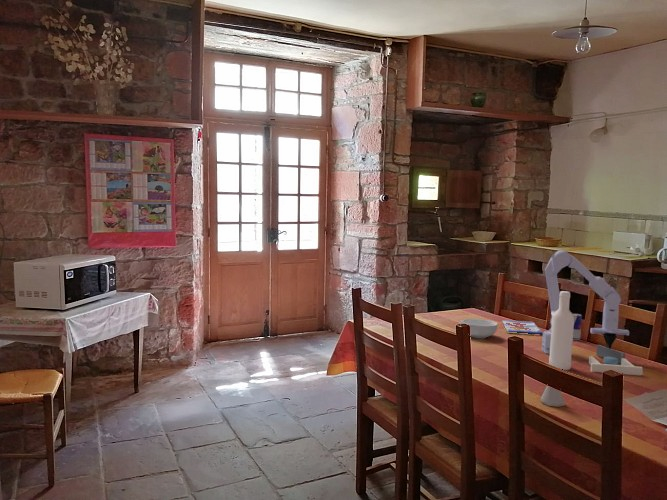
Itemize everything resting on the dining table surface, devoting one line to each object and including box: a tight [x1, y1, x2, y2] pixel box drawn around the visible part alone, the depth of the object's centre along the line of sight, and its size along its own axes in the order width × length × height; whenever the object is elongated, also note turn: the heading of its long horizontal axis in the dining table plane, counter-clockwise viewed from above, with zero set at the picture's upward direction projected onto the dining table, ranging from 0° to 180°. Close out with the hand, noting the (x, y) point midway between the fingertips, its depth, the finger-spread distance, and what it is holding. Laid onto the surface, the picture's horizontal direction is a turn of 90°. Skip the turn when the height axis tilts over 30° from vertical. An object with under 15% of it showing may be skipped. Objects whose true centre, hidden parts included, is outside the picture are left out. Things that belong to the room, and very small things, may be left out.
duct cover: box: [596, 344, 626, 365], centre depth 219 cm, size 14×1×4 cm, turn 19°
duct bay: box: [588, 355, 644, 376], centre depth 208 cm, size 18×12×3 cm, turn 80°
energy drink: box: [572, 313, 583, 341], centre depth 252 cm, size 5×5×12 cm
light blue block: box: [603, 357, 619, 365], centre depth 209 cm, size 5×5×4 cm
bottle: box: [548, 290, 574, 371], centre depth 207 cm, size 8×8×30 cm
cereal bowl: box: [460, 318, 499, 339], centre depth 253 cm, size 17×17×7 cm
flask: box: [540, 385, 566, 408], centre depth 170 cm, size 7×7×10 cm
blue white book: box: [501, 319, 543, 336], centre depth 270 cm, size 17×24×3 cm
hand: (608, 351), depth 222 cm, fingers closed, pressing on duct cover
